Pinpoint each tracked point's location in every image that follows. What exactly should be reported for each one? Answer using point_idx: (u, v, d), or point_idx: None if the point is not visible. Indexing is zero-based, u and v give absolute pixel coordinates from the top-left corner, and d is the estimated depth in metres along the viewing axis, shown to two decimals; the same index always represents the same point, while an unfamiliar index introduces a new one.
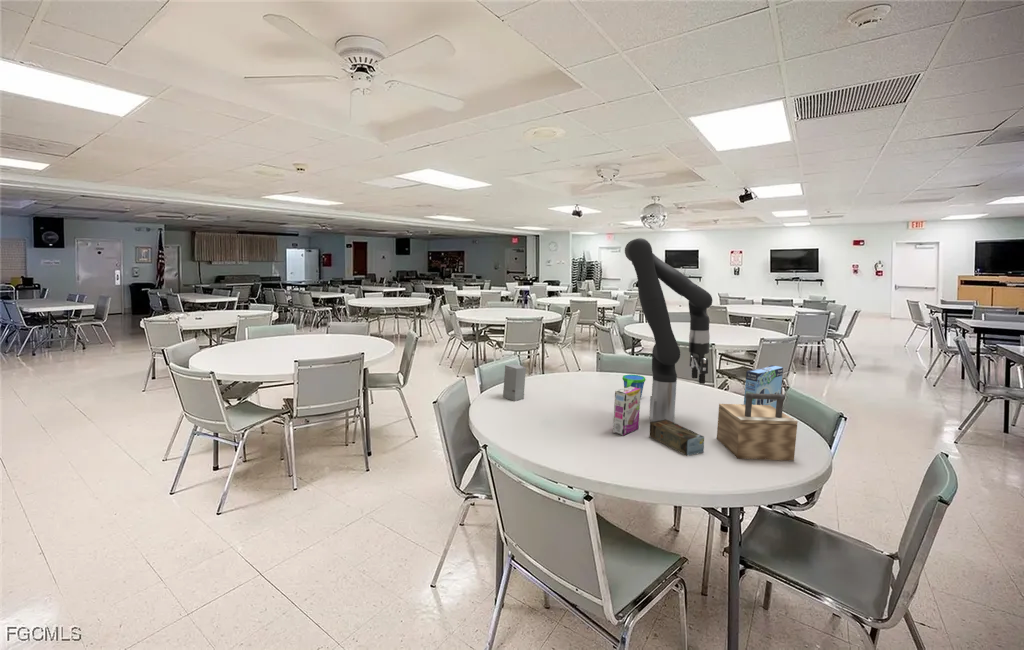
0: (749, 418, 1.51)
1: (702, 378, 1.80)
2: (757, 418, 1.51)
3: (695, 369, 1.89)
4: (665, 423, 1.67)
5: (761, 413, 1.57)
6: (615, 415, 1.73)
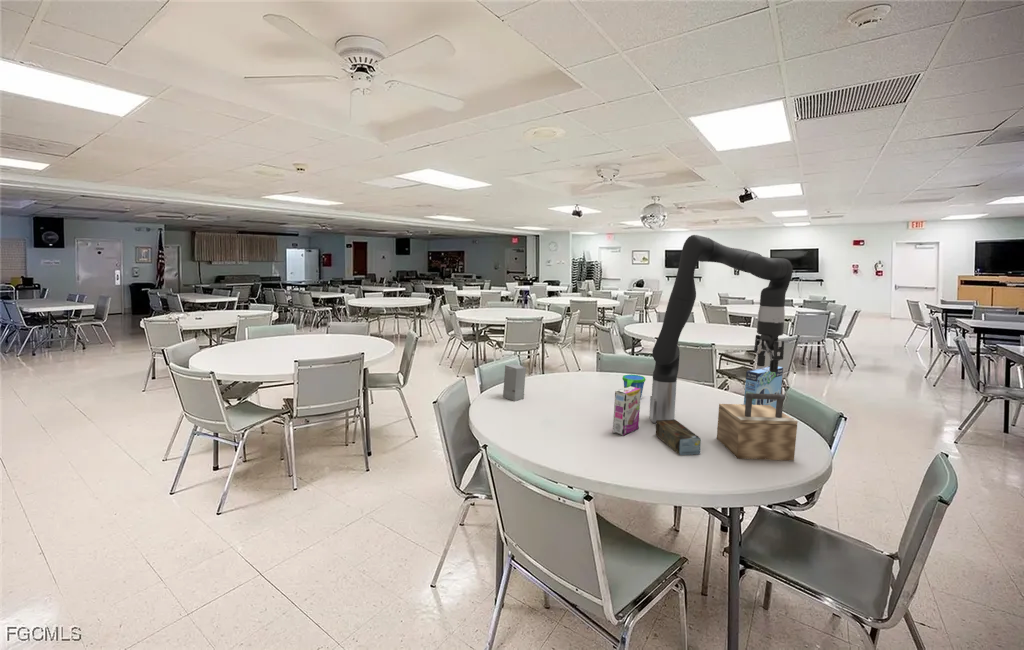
0: (749, 418, 1.51)
1: (775, 365, 1.46)
2: (757, 418, 1.51)
3: (762, 355, 1.55)
4: (669, 423, 1.68)
5: (761, 413, 1.57)
6: (615, 415, 1.73)
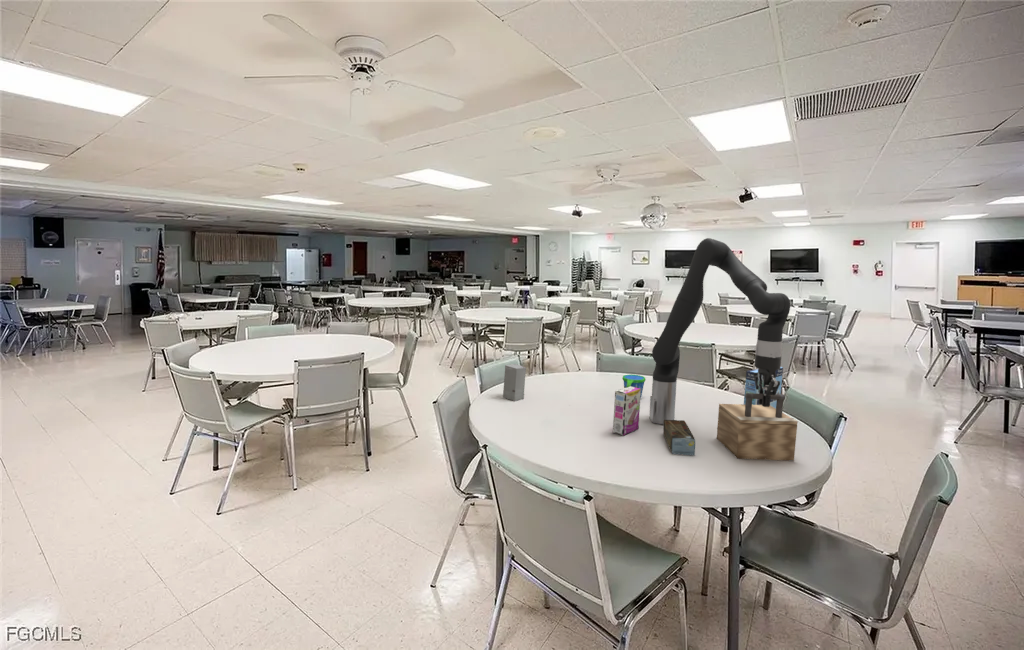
0: (749, 418, 1.51)
1: (767, 400, 1.51)
2: (757, 418, 1.51)
3: None
4: (674, 423, 1.68)
5: (761, 413, 1.57)
6: (615, 415, 1.73)
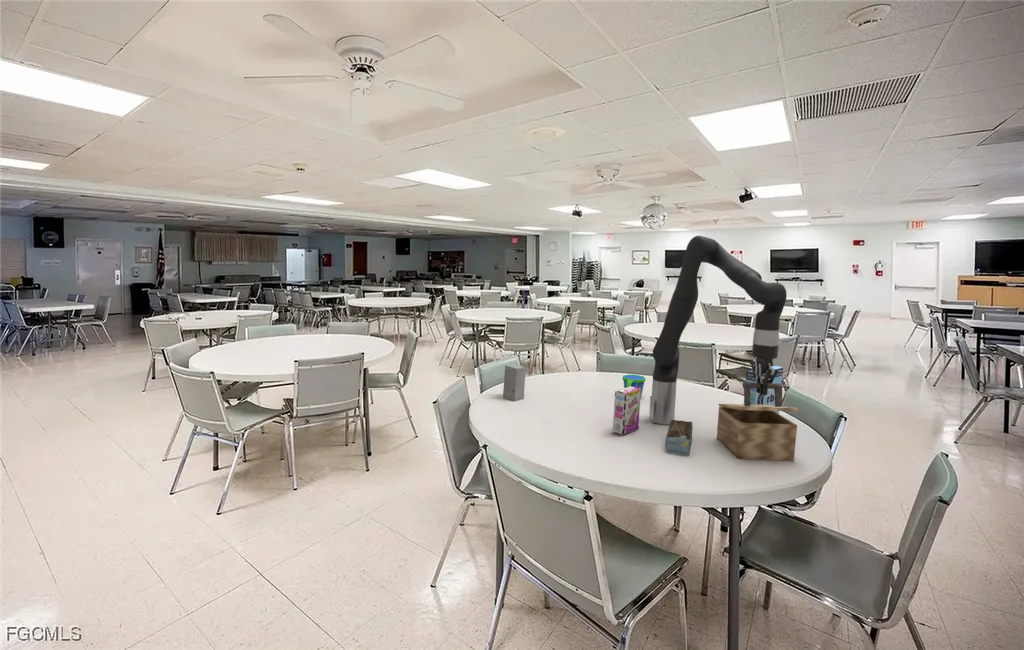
0: None
1: (764, 389, 1.53)
2: (757, 406, 1.52)
3: None
4: (679, 423, 1.67)
5: None
6: (615, 415, 1.73)
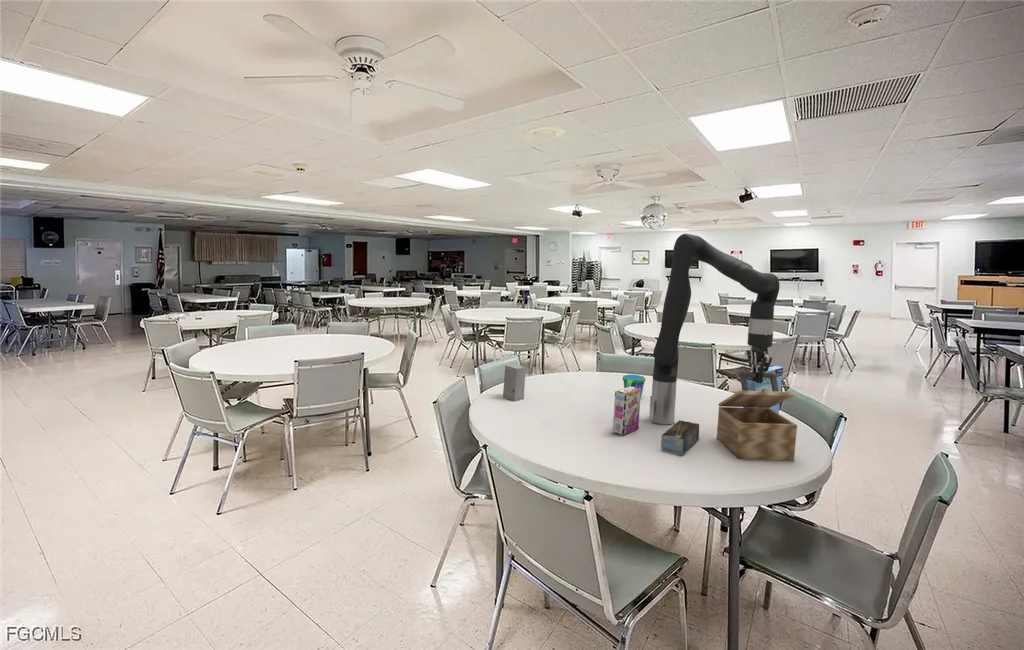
0: None
1: (760, 377, 1.56)
2: None
3: None
4: (683, 424, 1.67)
5: None
6: (615, 415, 1.73)
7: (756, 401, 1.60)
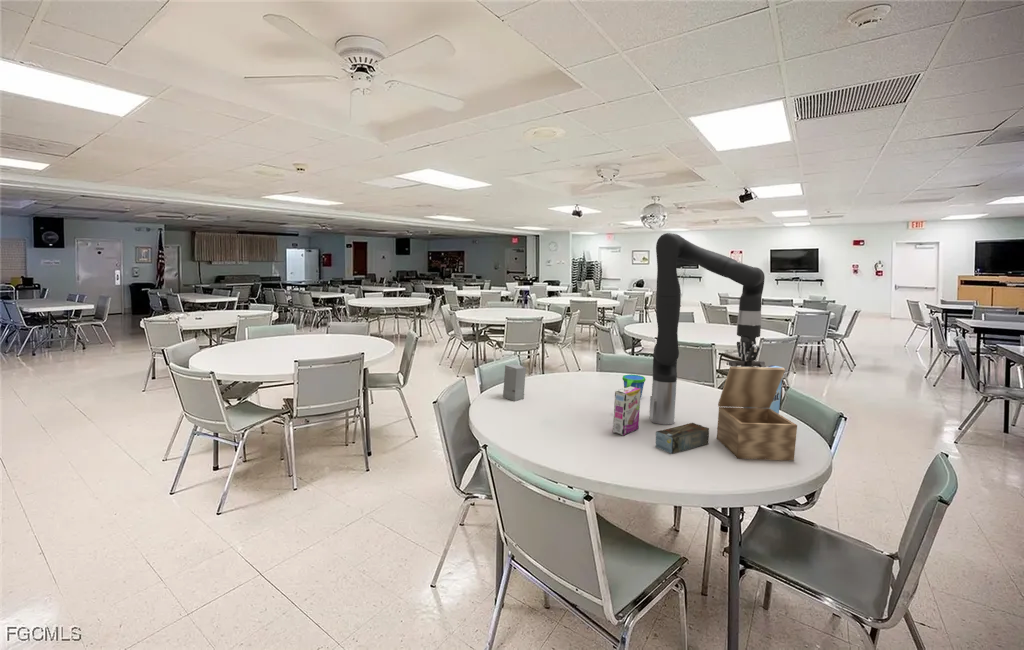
0: None
1: (748, 365, 1.64)
2: None
3: None
4: (690, 426, 1.65)
5: None
6: (615, 415, 1.73)
7: (752, 389, 1.63)
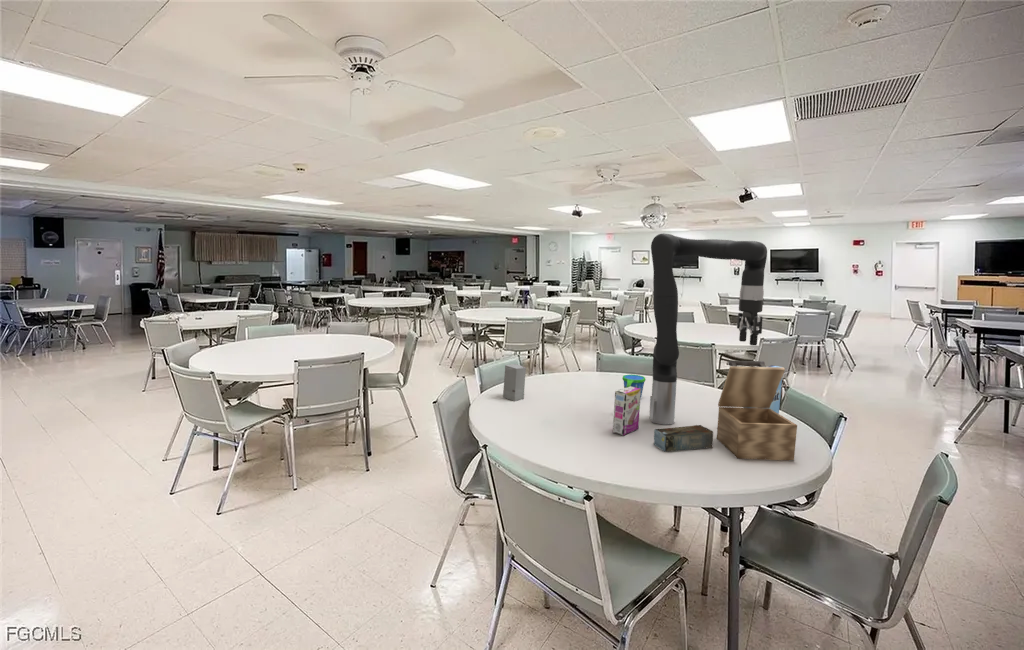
0: None
1: (754, 339, 1.61)
2: None
3: (744, 331, 1.70)
4: (694, 427, 1.63)
5: None
6: (615, 415, 1.73)
7: (752, 389, 1.63)
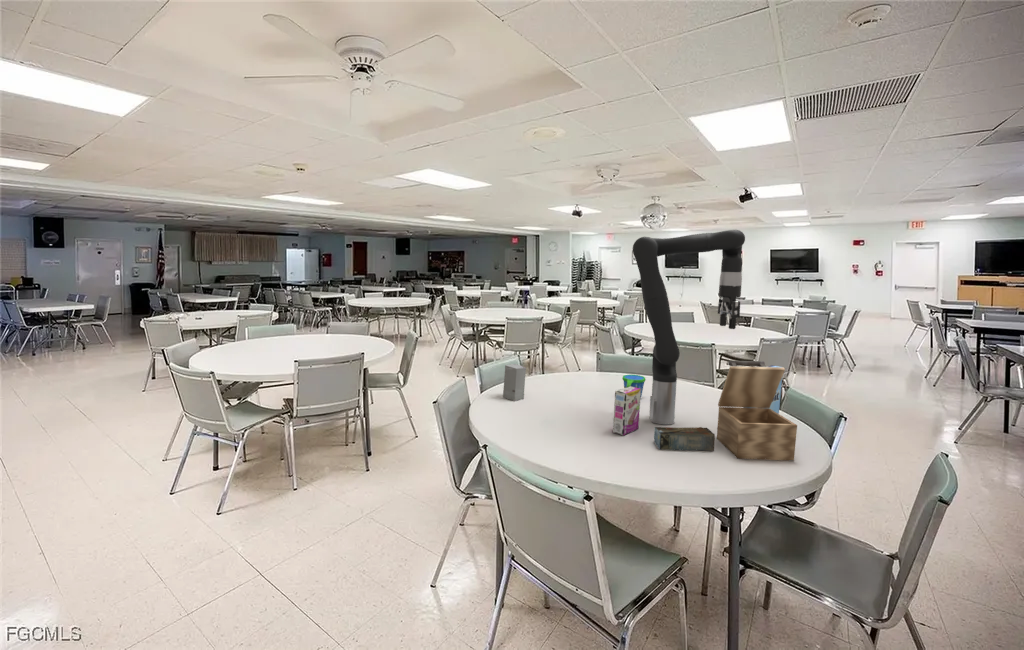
0: None
1: (733, 323, 1.69)
2: None
3: (724, 316, 1.78)
4: (697, 429, 1.62)
5: None
6: (615, 415, 1.73)
7: (752, 389, 1.63)
